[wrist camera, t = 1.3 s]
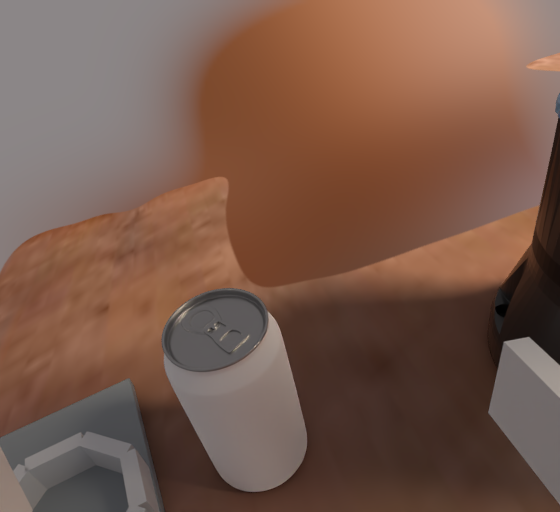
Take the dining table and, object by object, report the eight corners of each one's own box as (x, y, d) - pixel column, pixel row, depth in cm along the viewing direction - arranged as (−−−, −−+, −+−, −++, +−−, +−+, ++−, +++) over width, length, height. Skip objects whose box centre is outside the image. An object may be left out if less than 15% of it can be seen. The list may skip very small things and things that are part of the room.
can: (260, 388, 35) (219, 268, 27) (328, 436, 31) (302, 311, 23) (194, 455, 32) (128, 339, 24) (262, 518, 28) (207, 402, 20)
